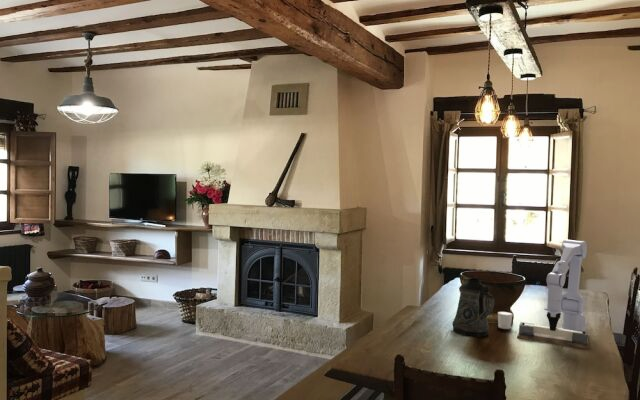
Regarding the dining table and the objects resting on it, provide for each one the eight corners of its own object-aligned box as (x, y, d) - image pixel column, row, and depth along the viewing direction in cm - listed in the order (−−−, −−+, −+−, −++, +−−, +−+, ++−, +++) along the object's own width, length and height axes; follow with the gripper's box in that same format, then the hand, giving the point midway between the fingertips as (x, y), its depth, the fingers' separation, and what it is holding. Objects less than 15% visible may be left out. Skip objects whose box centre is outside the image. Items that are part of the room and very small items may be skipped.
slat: (582, 338, 239) (582, 331, 239) (582, 340, 237) (582, 333, 236) (524, 329, 250) (524, 323, 250) (523, 331, 247) (524, 324, 247)
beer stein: (457, 325, 263) (460, 274, 262) (498, 332, 253) (501, 279, 252) (447, 333, 249) (450, 279, 248) (490, 340, 239) (493, 284, 238)
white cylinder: (502, 329, 258) (503, 315, 258) (494, 325, 265) (494, 311, 264) (514, 329, 260) (515, 314, 260) (506, 325, 267) (507, 311, 266)
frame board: (588, 342, 241) (588, 340, 241) (588, 348, 232) (588, 346, 232) (519, 332, 254) (519, 330, 254) (517, 337, 245) (517, 335, 245)
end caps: (587, 341, 240) (587, 331, 240) (587, 345, 234) (587, 335, 234) (520, 331, 252) (520, 322, 252) (518, 334, 246) (519, 325, 246)
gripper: (545, 295, 251) (544, 324, 251) (543, 301, 238) (542, 331, 238) (562, 297, 248) (560, 326, 248) (561, 303, 235) (559, 334, 235)
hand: (552, 329), depth 243 cm, fingers closed on slat, 3 cm apart
